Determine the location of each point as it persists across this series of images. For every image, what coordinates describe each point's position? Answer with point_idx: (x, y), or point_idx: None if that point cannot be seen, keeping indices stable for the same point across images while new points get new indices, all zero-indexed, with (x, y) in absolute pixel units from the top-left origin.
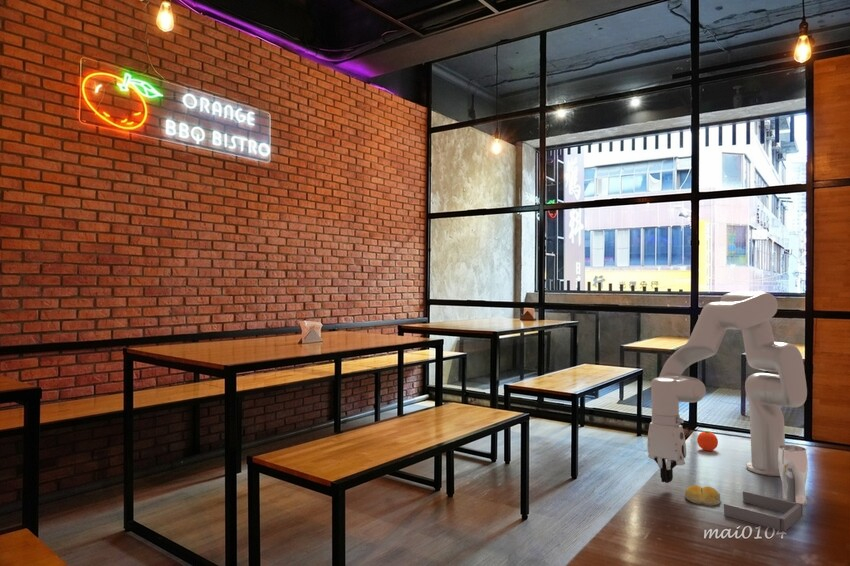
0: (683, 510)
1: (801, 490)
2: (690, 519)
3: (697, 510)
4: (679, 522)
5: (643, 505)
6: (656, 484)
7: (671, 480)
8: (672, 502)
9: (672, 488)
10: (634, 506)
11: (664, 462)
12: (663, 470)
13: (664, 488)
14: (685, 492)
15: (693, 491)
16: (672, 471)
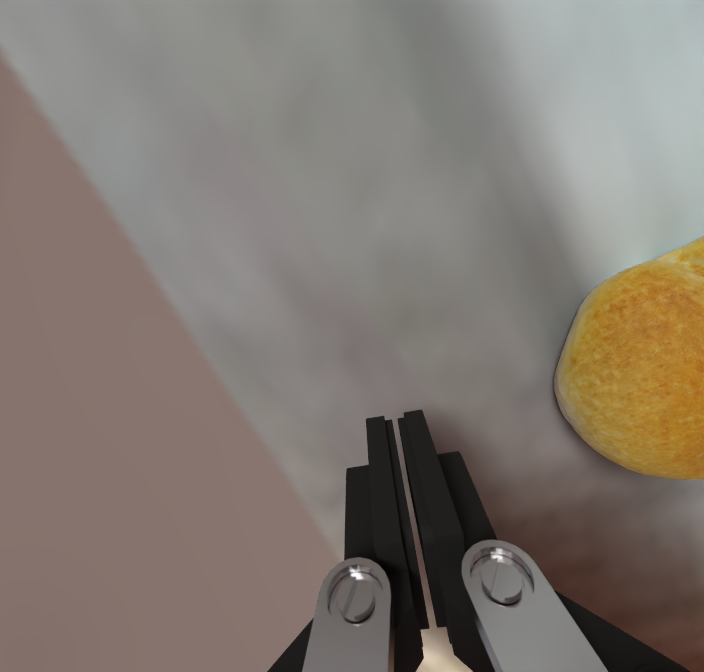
0: (631, 558)
1: None
2: (699, 606)
3: (699, 511)
4: (665, 650)
5: (446, 632)
6: (245, 352)
7: (422, 413)
8: (532, 522)
9: (383, 324)
10: (426, 659)
11: (375, 660)
12: (422, 616)
13: (345, 374)
14: (595, 449)
15: (700, 473)
16: (488, 521)
